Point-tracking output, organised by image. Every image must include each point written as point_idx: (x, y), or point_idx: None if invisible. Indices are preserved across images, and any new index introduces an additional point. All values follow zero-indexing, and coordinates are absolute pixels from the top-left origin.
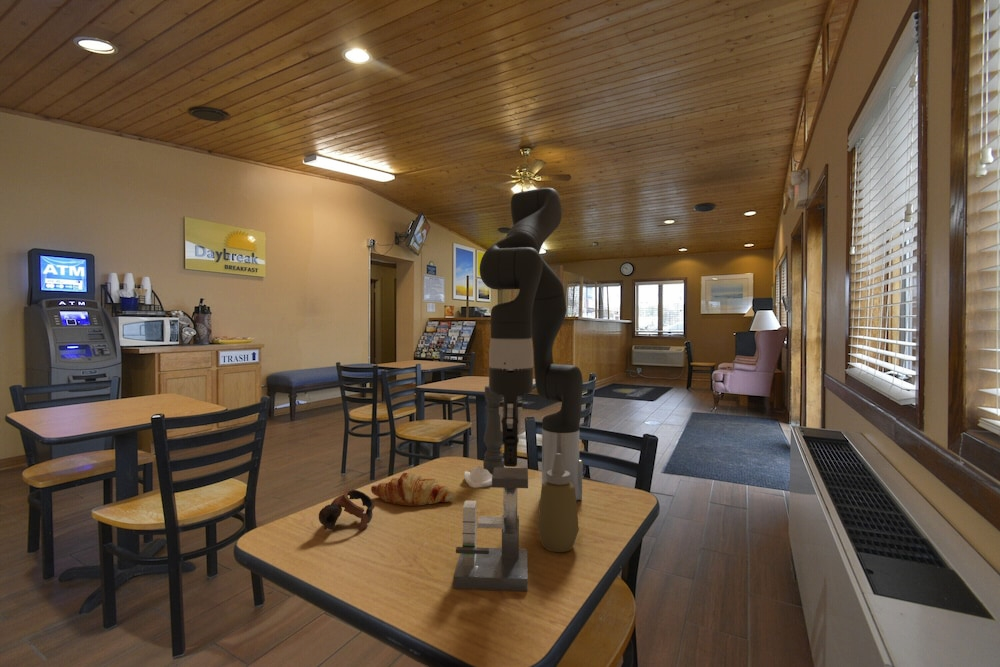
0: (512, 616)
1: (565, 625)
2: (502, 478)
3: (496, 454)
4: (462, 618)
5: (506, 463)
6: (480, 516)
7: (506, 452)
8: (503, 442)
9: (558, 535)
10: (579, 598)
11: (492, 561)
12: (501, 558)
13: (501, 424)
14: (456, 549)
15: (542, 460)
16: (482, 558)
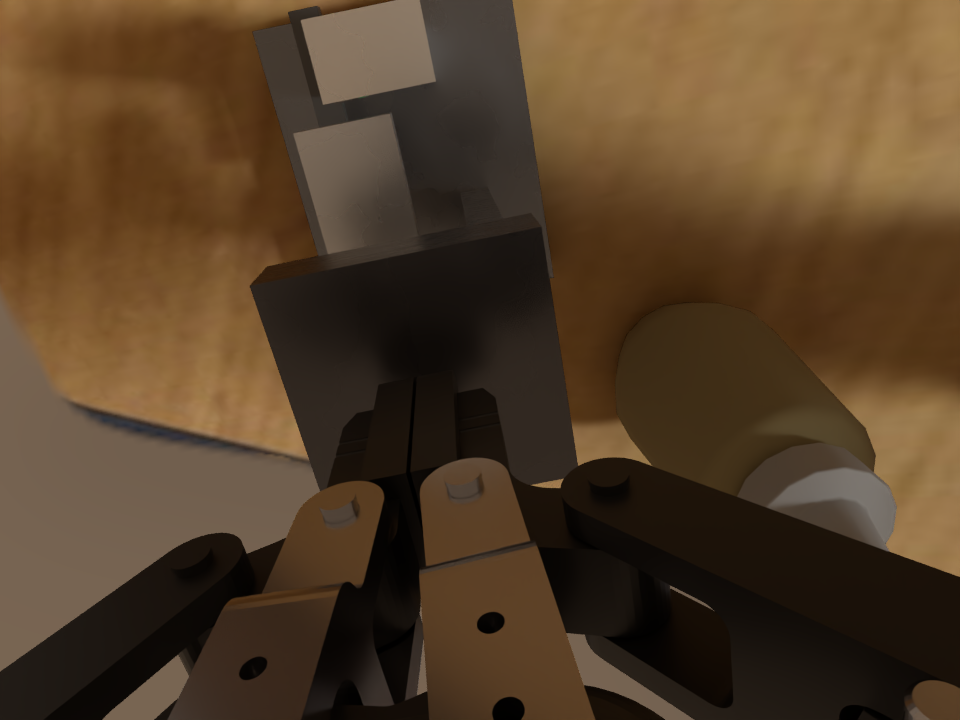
0: (195, 289)
1: (218, 434)
2: (282, 362)
3: None
4: (113, 132)
5: (356, 415)
6: (385, 124)
7: (332, 473)
8: (163, 563)
9: (617, 400)
10: None
11: (419, 163)
12: (452, 194)
13: (189, 699)
14: (289, 15)
15: None
16: (431, 112)
